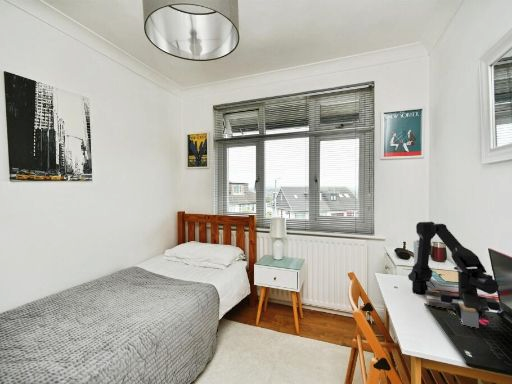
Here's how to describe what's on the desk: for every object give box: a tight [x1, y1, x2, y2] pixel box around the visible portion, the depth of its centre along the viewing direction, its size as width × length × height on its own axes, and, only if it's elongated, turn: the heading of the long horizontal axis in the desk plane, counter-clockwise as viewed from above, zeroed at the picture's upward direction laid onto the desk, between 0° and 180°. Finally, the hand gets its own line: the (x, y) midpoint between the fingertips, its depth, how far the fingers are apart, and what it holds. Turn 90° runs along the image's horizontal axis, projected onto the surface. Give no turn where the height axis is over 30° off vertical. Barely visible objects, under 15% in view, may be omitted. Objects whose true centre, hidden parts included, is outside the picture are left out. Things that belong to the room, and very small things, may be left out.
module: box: [459, 304, 480, 329], centre depth 99 cm, size 5×7×6 cm
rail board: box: [424, 289, 484, 316], centre depth 115 cm, size 20×13×3 cm, turn 60°
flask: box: [413, 239, 419, 266], centre depth 144 cm, size 17×5×25 cm, turn 153°
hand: (468, 320), depth 99 cm, fingers closed on module, 5 cm apart
